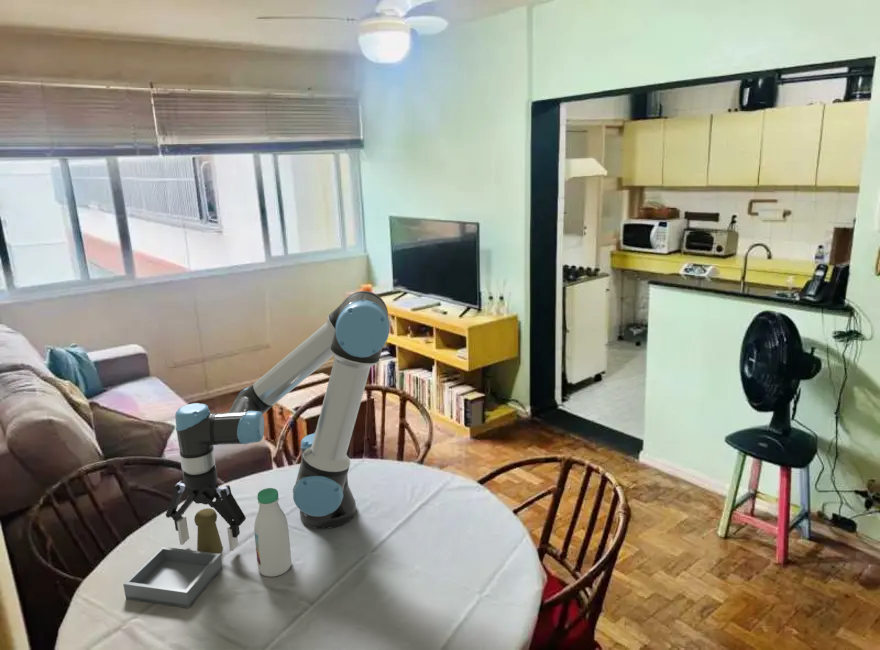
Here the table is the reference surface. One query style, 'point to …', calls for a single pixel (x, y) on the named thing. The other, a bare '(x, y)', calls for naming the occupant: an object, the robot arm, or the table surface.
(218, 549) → the cork
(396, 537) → the table surface
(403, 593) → the table surface
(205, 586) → the tray
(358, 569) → the table surface
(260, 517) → the milk bottle
